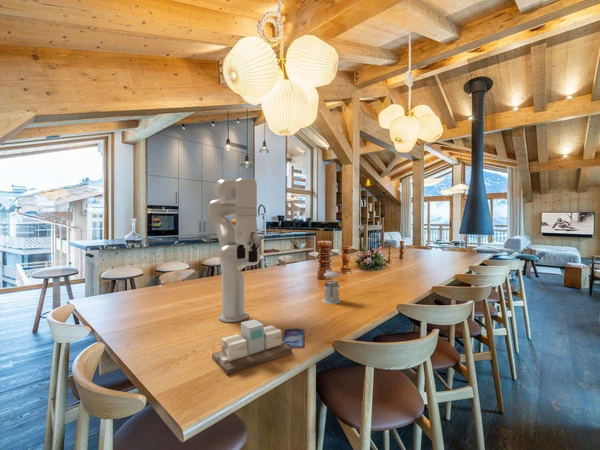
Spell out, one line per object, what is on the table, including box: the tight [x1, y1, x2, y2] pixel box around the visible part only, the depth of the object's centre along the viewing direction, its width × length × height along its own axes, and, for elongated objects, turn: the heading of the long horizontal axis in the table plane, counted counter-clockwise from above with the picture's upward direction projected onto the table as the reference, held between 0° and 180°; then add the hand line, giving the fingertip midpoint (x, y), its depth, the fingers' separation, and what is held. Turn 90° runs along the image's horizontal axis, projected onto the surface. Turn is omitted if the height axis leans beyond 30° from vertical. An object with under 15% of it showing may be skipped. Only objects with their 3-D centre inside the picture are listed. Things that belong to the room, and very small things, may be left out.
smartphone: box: [282, 328, 305, 349], centre depth 107 cm, size 7×1×15 cm
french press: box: [321, 252, 341, 305], centre depth 151 cm, size 10×12×25 cm
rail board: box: [211, 324, 293, 376], centre depth 94 cm, size 12×22×7 cm, turn 126°
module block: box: [240, 319, 265, 354], centre depth 93 cm, size 6×5×8 cm
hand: (246, 260), depth 107 cm, fingers open, 9 cm apart
